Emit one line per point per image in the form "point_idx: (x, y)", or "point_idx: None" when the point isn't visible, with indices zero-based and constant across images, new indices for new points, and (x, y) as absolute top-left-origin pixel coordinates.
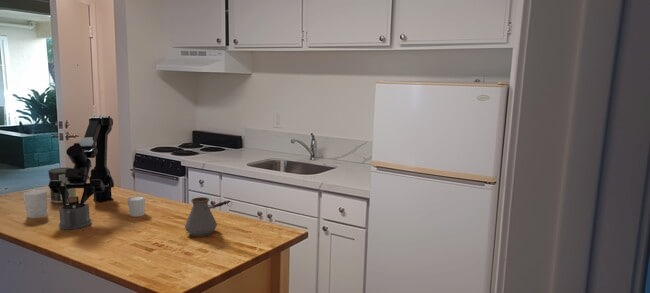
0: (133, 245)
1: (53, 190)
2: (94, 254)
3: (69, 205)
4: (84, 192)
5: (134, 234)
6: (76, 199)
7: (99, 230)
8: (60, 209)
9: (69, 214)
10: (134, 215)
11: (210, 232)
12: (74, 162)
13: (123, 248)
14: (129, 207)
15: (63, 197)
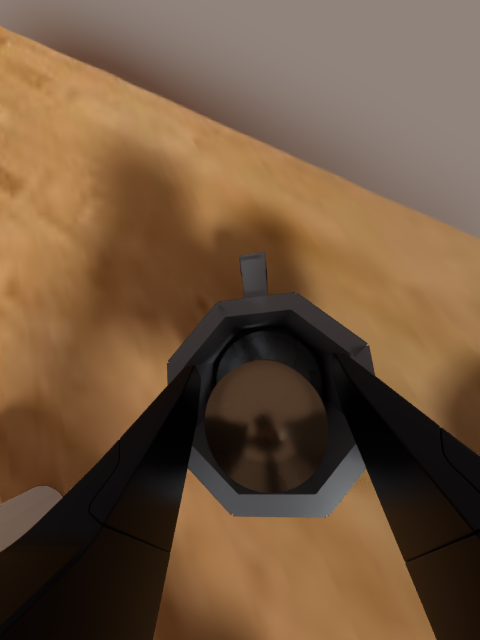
0: (15, 179)
1: None
2: (96, 114)
3: (336, 458)
4: (93, 506)
5: (22, 262)
6: (217, 386)
7: (141, 301)
8: (343, 329)
9: (240, 268)
10: (41, 489)
11: None
12: None
13: (36, 157)
14: (12, 534)
15: (403, 417)
